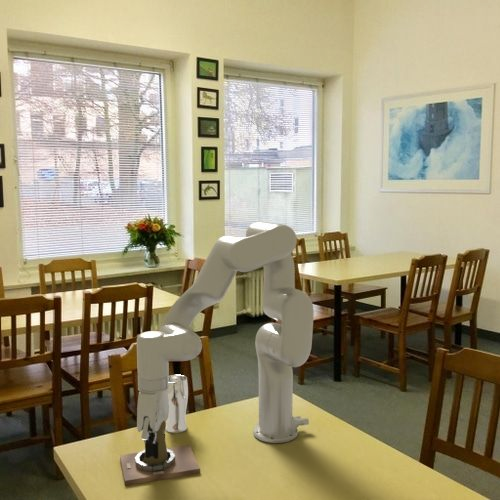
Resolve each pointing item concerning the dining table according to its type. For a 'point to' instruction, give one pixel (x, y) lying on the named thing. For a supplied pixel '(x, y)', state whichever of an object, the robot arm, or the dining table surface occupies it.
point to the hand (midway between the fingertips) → (155, 452)
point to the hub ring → (154, 467)
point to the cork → (159, 447)
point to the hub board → (181, 467)
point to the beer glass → (177, 404)
